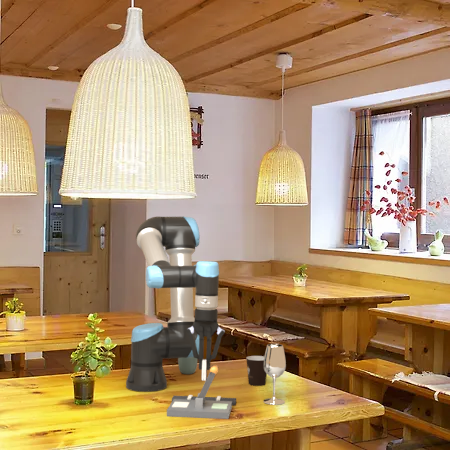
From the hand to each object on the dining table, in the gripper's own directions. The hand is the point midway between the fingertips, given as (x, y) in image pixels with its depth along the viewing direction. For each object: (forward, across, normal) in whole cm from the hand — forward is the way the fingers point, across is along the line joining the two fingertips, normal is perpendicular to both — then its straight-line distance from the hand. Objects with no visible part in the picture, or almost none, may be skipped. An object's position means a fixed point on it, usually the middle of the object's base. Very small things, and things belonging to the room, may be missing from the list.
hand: (204, 379), depth 248 cm
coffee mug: (+10, +16, +44) cm, 48 cm away
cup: (+10, -14, +56) cm, 59 cm away
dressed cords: (+11, -1, +12) cm, 16 cm away
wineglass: (+11, +23, +17) cm, 30 cm away
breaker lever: (+7, -1, +1) cm, 7 cm away
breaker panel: (+11, -1, +1) cm, 11 cm away
